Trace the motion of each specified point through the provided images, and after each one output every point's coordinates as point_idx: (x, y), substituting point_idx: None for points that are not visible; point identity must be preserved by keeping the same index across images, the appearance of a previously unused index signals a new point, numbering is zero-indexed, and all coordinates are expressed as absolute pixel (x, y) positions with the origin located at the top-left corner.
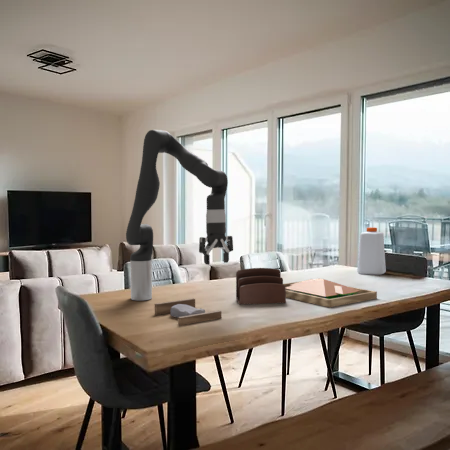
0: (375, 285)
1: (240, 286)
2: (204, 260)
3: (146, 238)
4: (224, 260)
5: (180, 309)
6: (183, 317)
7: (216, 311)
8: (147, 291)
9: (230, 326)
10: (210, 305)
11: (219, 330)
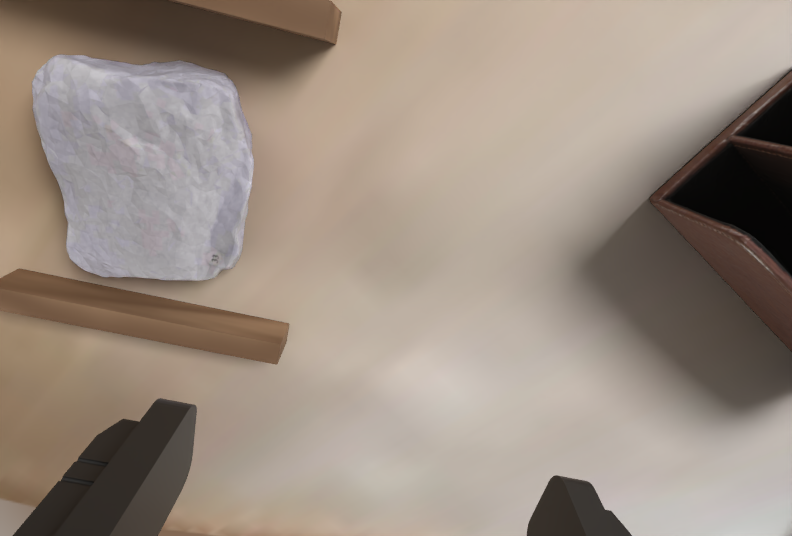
0: None
1: (746, 242)
2: (82, 467)
3: None
4: (557, 519)
5: (66, 179)
6: (11, 312)
7: (252, 348)
8: None
9: (213, 454)
10: (504, 44)
11: None
